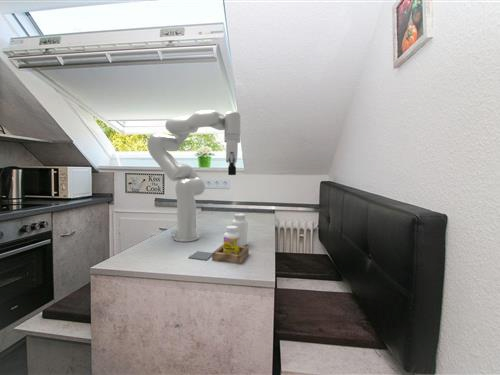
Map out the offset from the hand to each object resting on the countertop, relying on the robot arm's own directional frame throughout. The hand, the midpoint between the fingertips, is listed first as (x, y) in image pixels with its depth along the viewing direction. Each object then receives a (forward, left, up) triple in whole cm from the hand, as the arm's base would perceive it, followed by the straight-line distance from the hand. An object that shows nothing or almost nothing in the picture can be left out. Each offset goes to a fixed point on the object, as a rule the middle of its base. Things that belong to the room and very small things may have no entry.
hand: (232, 175), depth 112 cm
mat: (-7, -18, -34) cm, 39 cm away
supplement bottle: (+5, -15, -35) cm, 38 cm away
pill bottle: (+3, +3, -35) cm, 35 cm away
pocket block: (+5, -15, -34) cm, 38 cm away
